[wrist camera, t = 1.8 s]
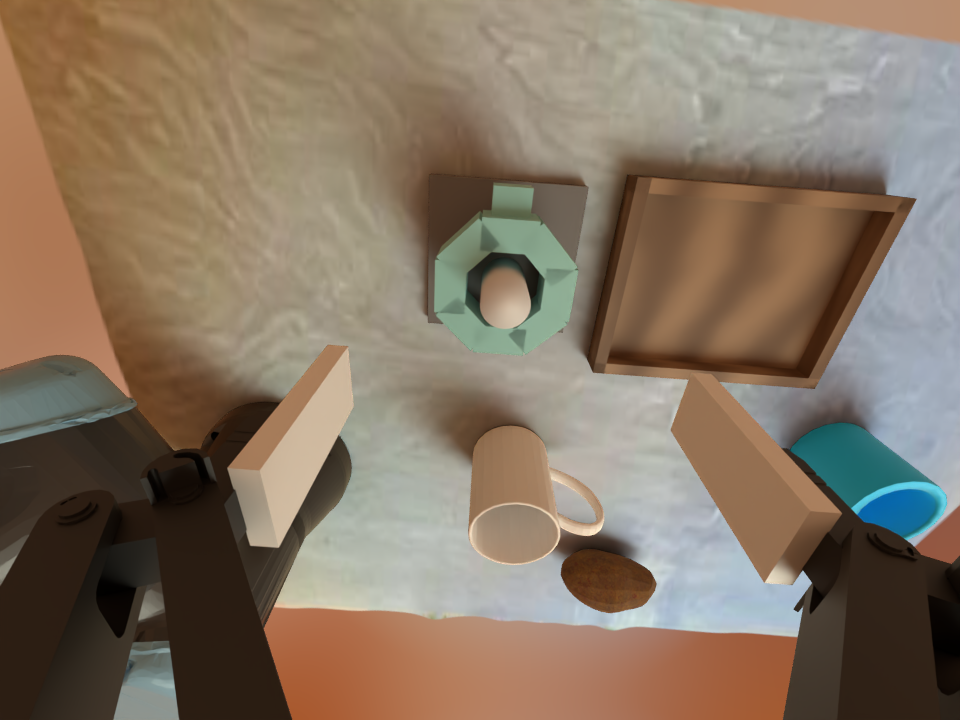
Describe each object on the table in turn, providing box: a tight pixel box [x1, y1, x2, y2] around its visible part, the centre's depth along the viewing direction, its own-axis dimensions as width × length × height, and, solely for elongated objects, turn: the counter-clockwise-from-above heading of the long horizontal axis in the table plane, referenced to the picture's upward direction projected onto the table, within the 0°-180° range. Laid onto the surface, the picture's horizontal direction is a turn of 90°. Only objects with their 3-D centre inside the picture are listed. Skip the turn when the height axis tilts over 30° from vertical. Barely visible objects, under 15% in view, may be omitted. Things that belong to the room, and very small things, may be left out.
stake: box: [428, 174, 589, 333], centre depth 29 cm, size 12×12×12 cm
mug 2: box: [790, 423, 947, 540], centre depth 41 cm, size 12×8×8 cm
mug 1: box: [468, 425, 604, 565], centre depth 40 cm, size 12×8×10 cm, turn 88°
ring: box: [434, 183, 578, 356], centre depth 27 cm, size 9×11×3 cm
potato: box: [561, 549, 657, 613], centre depth 49 cm, size 7×12×7 cm, turn 83°
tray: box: [587, 175, 916, 389], centre depth 34 cm, size 20×16×2 cm
